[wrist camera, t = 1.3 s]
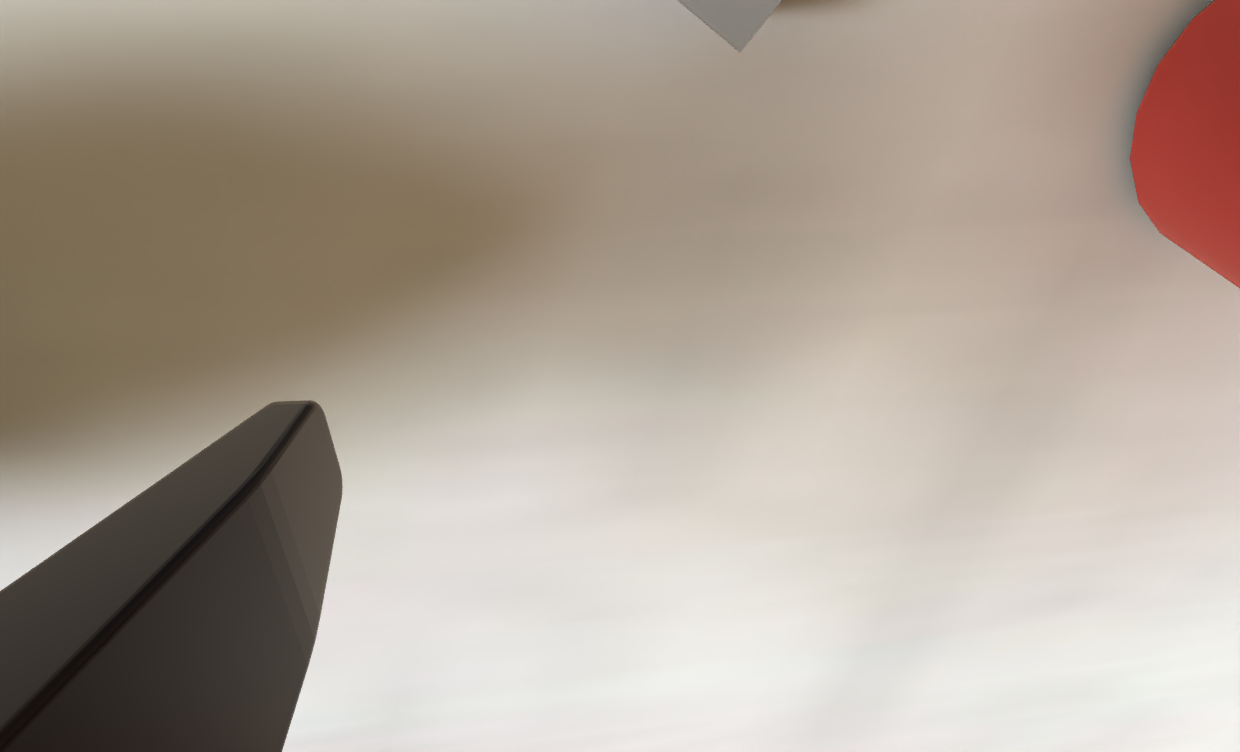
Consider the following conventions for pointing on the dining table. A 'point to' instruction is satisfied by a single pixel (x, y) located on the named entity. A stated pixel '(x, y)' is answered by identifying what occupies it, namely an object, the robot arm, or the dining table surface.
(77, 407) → the dining table surface
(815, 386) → the dining table surface
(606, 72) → the dining table surface
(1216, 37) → the beer can
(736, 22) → the tray
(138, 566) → the robot arm
